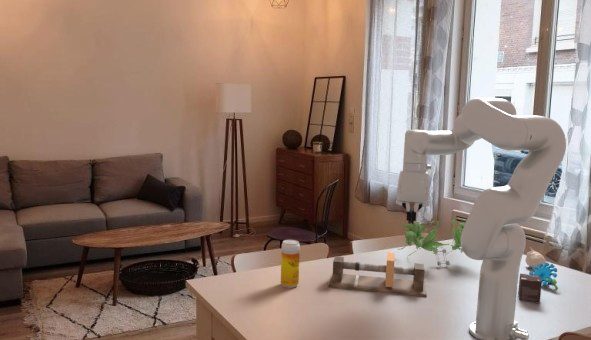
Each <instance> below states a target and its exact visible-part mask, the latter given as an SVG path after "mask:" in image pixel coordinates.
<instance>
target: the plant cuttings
mask: <svg viewBox="0 0 591 340" xmlns="http://www.w3.org/2000/svg"><path fill="white" fill-rule="evenodd" d="M433 222H436V224H435V226H434V227H433V226H432V224H433ZM456 222H458V223H456ZM439 223H440V221H439V220H432V221H431V222H430V223H429V226H431V227H432V228H433V229H432V230H431V231H429V228H426V227H425V224H420V223H419V222H418V221H414V224H412V223H411V224H409V223H405V224H403V229H408V230H406V231H405V234H404V235H405V244H406V245H405V246H403V247H401V248H398V250H404V249H405V248H406V247H407V246H410V247H411V246H412V243H413V244H414V245H415V247H416V249H417V250H415V251H413V252H412V253H410V254H408V255H407V258H408V257H409V256H411V255H412V254H414V253H415V252H417V251H418V250H421V249H424V250H425V251H427V252H432V254H434V255H435V256H436V259H437V260H436V261H437V266H438V267H439V268H447V267H448V266H450V264H451V263H450V261H449V260H447V258H446V257H447V255H448V254H450V253H451V252H453V251H456V250H459V252H460V253H464V252H463V250H462V247H461V235H462V231H463V228H464V226H465V224H466V221H463V222H459V221H458V220H457V219H452V220H451V222H450V223H451V224H452V225H454V226H455V228H456V230H455V228H454V227H452V232H453V239H452V244H450V243H443V242H439V241H437V239H438V237H439V236H440V235H439V232H438V230H437V229H438V225H439ZM460 226H461V227H460ZM423 231H424V232H428V231H429V233H428V234H427V235H426V236H424V235H423V233H422V232H423ZM436 235H437V237H436ZM435 237H436V238H435ZM421 240H422V241H421ZM449 245H450V246H451V249H452V250H451V251H449V252H447V249H446V248H444V247H443V246H449ZM439 248H441V249H442V250H439ZM438 250H439V251H438ZM441 252H442V256H443V258H444V260H445V261H444V262H442V261H440V258H439V257H438V256H439V253H441ZM442 265H445V267H443V266H442Z"/></svg>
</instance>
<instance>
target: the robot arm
mask: <svg viewBox="0 0 591 340" xmlns="http://www.w3.org/2000/svg"><path fill="white" fill-rule="evenodd" d="M516 109H517V108H516V107H515V105H514V104H513V103H512V102H510V100H507V99H505V98H499V97H474V98H472V99H470V100H469V101H468V102H466V103H465V104H464V106H463V107H462V109H461V112H460V113H461V114H459V115H458V116H457V117H456V118H455V120H454V122H453V127H454V128H453V129H450V130H424V129H408V130H406V131H405V133H404V144H403V145H404V147H403V158H402V159H403V160H402V161H403V162H402V170H400V171H399V176H398V180H397V190H396V200H395V204H396V205H398V206H401V207H403V209H405V211H406V221H408V223H407V224H408V225H412V224H414V223H415V222H417V213H418V211H419V210H420V209H422V208H426V207H427V208H428V207H430V203H429V197H430V175H429V172H427V171H428V170H432V165H431V164H428V156H448V155H453V154H456V153H459V152H463V151H465V150H467V149H469V148H471V147H472V146H473V145H474V143H475V142H476V141H478V140H482V139H483V140H484V141H486V142H488V143H489V144H491V145H492V146H494V147H496V148H498V149H500V150H504V151H528V153H527V154H526V155H525V156H524V157H523V158H522V159H521V160H520V161H519V162H518V163H517V165H516V167H515V169H514V170H513V173H512V176H511V177H510V180H508V182H507V184H505V185H504V186H496V187H489V188H486V189H485V190H484V191H482V192H480V193H479V195H478V196H477V198H476V199H475V201H474V203H473V204H472V205H473V206H472V207H471V210H470V212H469V215H468V217H467V219H466V220H465V222H466V224H465V226H464V228H463V231H462V235H461V247H460V248H462V250H463V252H462V253H464V255H465V256H466V257H468V258H469V259H471V260H475V261H482V263H481V265H480V271H479V279H478V280H479V281H478V291H477V292H478V293H477V305H476V312H475V313H476V314H475V315H476V317H475V321H473V322H471V323H470V324H469V327H468V331H469V333H470V335H472V336H473V337H475V338H476V339H477V340H529V337H530V336H529V334H528V331H527V330H526V329H523V328H519V326H518V325H519V324H518V323H519V322H518V321H517V320H515V315H516V304H517V295H518V285H519V277H520V267H521V262H522V259H523V255H524V252H525V249H526V245H527V244H526V242H527V239H526V233H525V231H524V229H523V228H522V226H521V225H520V224H522V223H525V222H529V221H530V220H531V219H532V218H533V217H534V216H535V214H536V212H537V210H538V208H539V206H540V204H541V202H542V200H543V198H544V196H545V194H546V192H547V190H548V188H549V186H550V183H551V181H552V180H553V177H554V176H555V174H556V172H557V170H558V169H559V167H560V165H561V164H562V161H563V159H564V157H565V154H566V148H567V139H566V135H565V132H564V130H563V128H562V126H561V125H560V124H559V122H557V121H556V120H554V119H552V118H550V117H548V116H547V117H546V116H544V115H542V116H541V115H529V114H528V115H519V114H518V115H517V110H516ZM413 203H414V205H413V208H411V205H410V204H413Z"/></svg>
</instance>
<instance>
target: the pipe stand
mask: <svg viewBox="0 0 591 340" xmlns="http://www.w3.org/2000/svg"><path fill="white" fill-rule="evenodd" d="M344 260H345V257H344V256H338V255H337V256H336V255H335V256H334V258H333V261H332V273H331V276H330V279H329V281H328V284H327V285H328V286H327V288H334V289H335V288H336V289H345V290H355V291H367V292H375V293H383V294H397V295H403V296H414V297H425V298H427V297H428V295H427V294H428V293H427V289H426V282H425V265H424V263H418V262H414V265H413V267H405V266H397V265H396V266H395V265H394V275H395V274H398V275H405V276H413V279H410V280H409V279H401V278H394V279H393V287H385V283H386V277H380V276H379V277H377V276H370V275H369V276H367V275H359V274H347V273H344V270H351V271H352V270H353V271H357V272H359V271H363V272H364V271H365V272H375V273H384V274H386V265H387V264H386V265H383V264H372V263H362V262H361V263H360V262H357V261H355V262H351V261H344Z"/></svg>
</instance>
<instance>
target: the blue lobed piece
mask: <svg viewBox="0 0 591 340" xmlns="http://www.w3.org/2000/svg"><path fill="white" fill-rule="evenodd" d="M538 266H539V268H538V269H537V268H536V266H535V267H533V268H532V267H531V268H532V270H533V271H534V272H533V271H532V270H530V271H529V272H528V275H536V276H540V279H541V281H542V286H546V287H547V285H550V286H552V287H554V289H558V288H559V287H558V285H557V283H558V281H557V280H556V278H557V277H558V274H557V272H558V268H557V267H555V265H554V263H549V262H547V261H546V262H545V264H544V266H543V264H542V263H540V264H538ZM542 266H543V267H542ZM541 267H542V268H541ZM552 277H553V278H552Z"/></svg>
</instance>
